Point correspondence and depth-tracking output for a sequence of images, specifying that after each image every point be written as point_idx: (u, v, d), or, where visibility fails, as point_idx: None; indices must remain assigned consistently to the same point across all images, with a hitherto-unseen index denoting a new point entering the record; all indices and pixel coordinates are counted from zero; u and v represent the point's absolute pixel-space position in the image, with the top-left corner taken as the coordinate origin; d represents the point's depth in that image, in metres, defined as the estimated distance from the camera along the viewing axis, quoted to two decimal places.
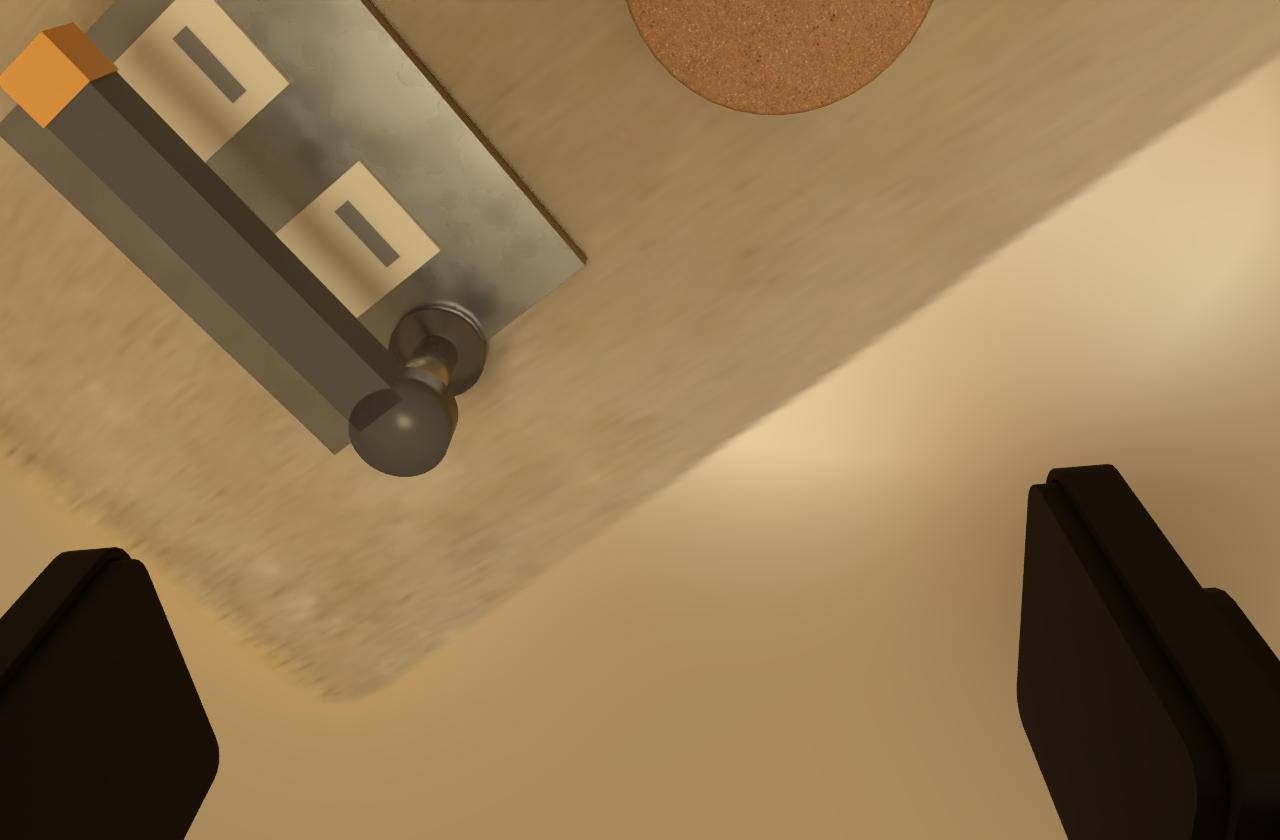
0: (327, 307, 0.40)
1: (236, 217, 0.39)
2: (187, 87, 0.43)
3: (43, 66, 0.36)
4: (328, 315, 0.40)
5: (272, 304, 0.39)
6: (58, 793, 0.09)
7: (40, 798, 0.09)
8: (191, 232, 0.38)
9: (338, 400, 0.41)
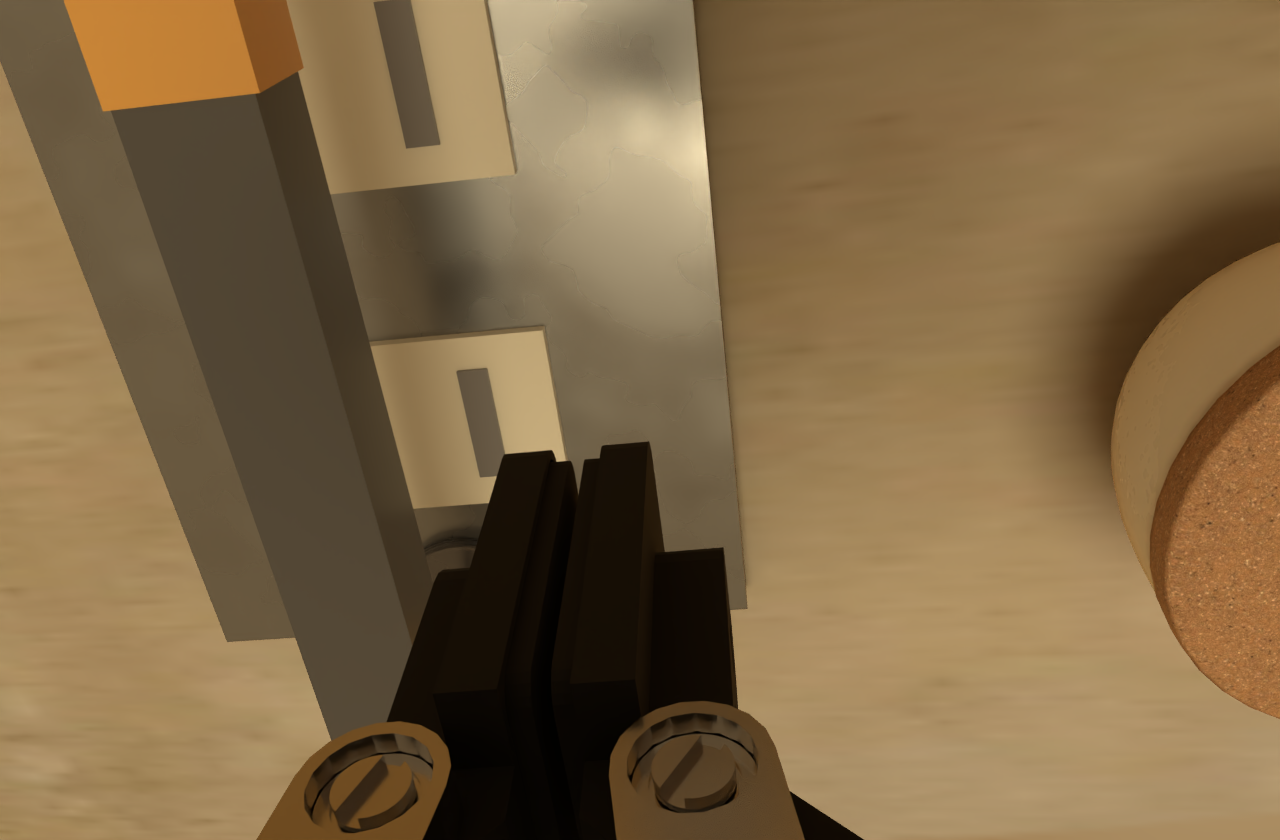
0: (418, 603, 0.22)
1: (364, 420, 0.20)
2: (347, 82, 0.24)
3: (180, 13, 0.16)
4: (416, 624, 0.22)
5: (338, 577, 0.21)
6: None
7: None
8: (274, 415, 0.19)
9: None
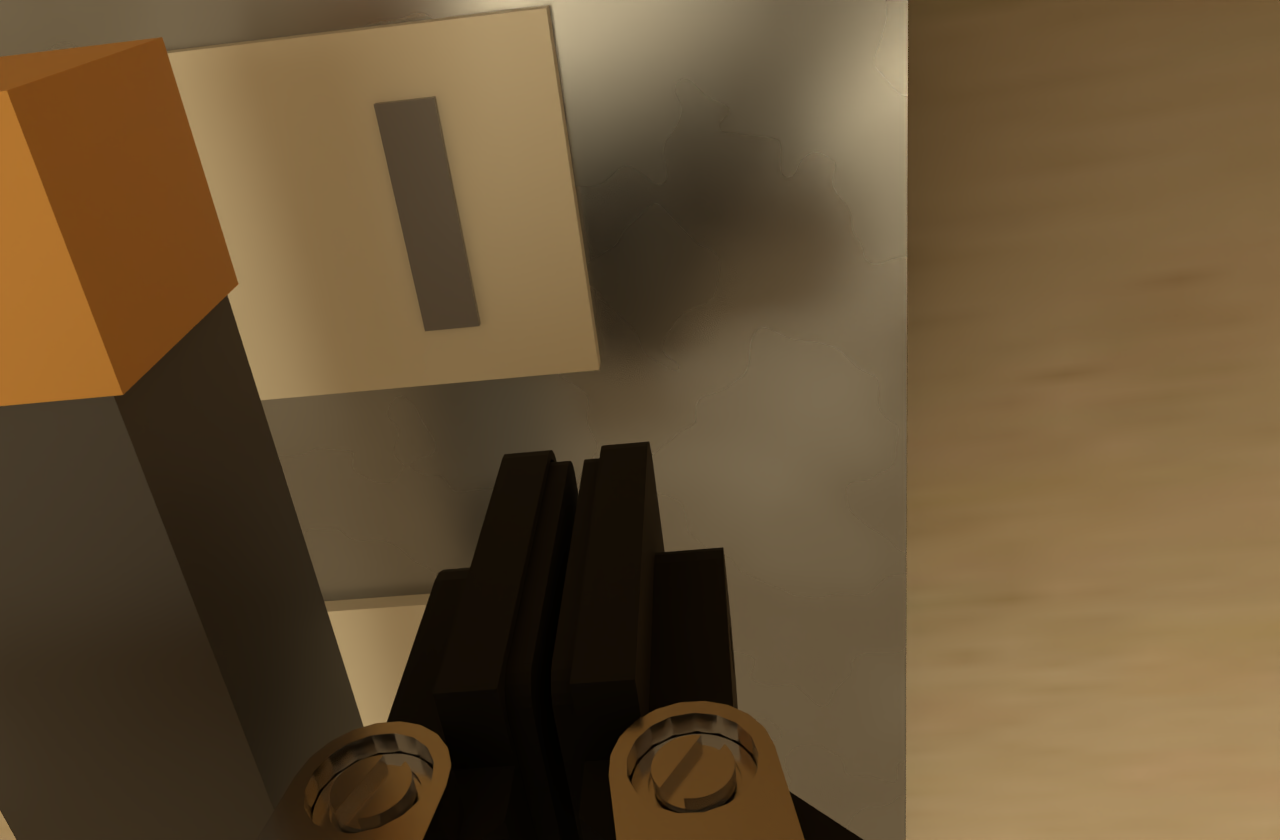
0: None
1: None
2: (329, 229, 0.15)
3: None
4: None
5: None
6: None
7: None
8: None
9: None
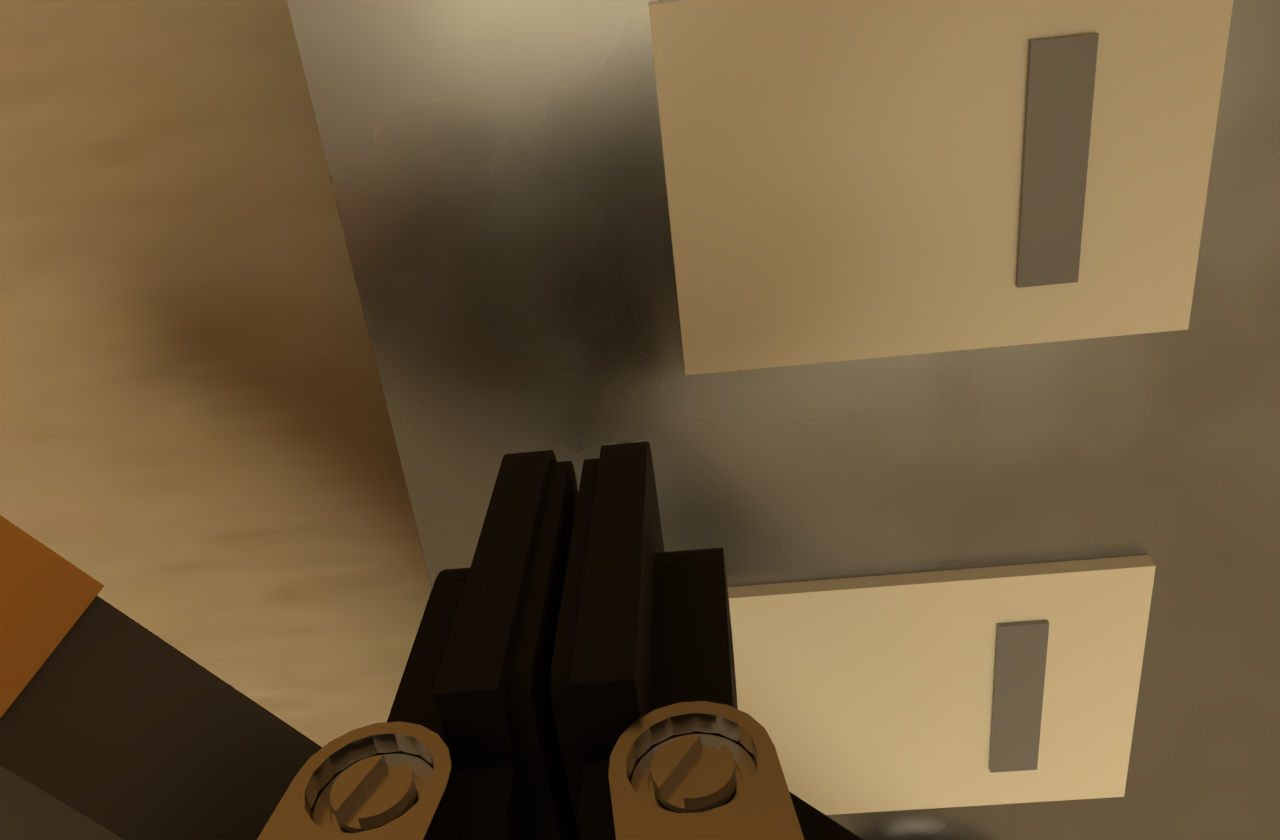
0: None
1: None
2: (940, 178, 0.14)
3: None
4: None
5: None
6: None
7: None
8: None
9: None
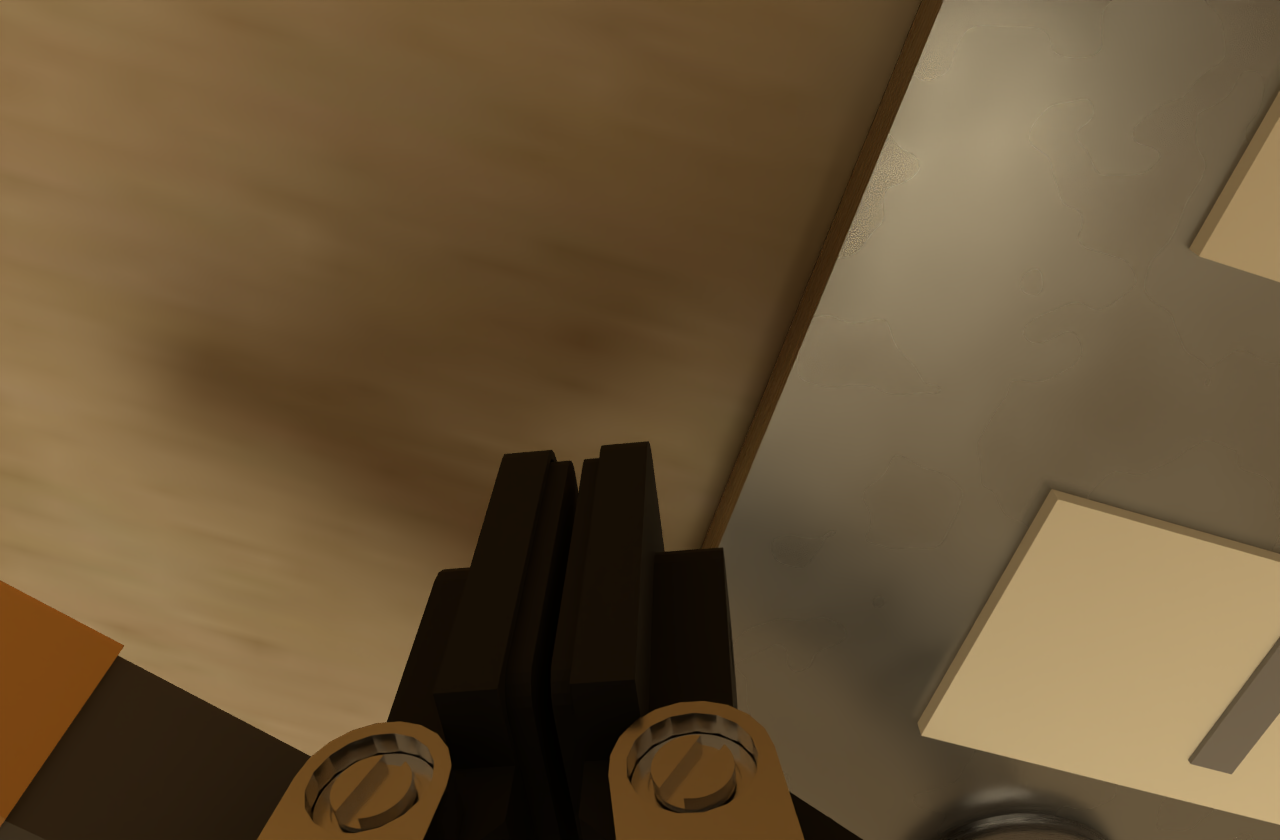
0: None
1: None
2: None
3: None
4: None
5: None
6: None
7: None
8: None
9: None
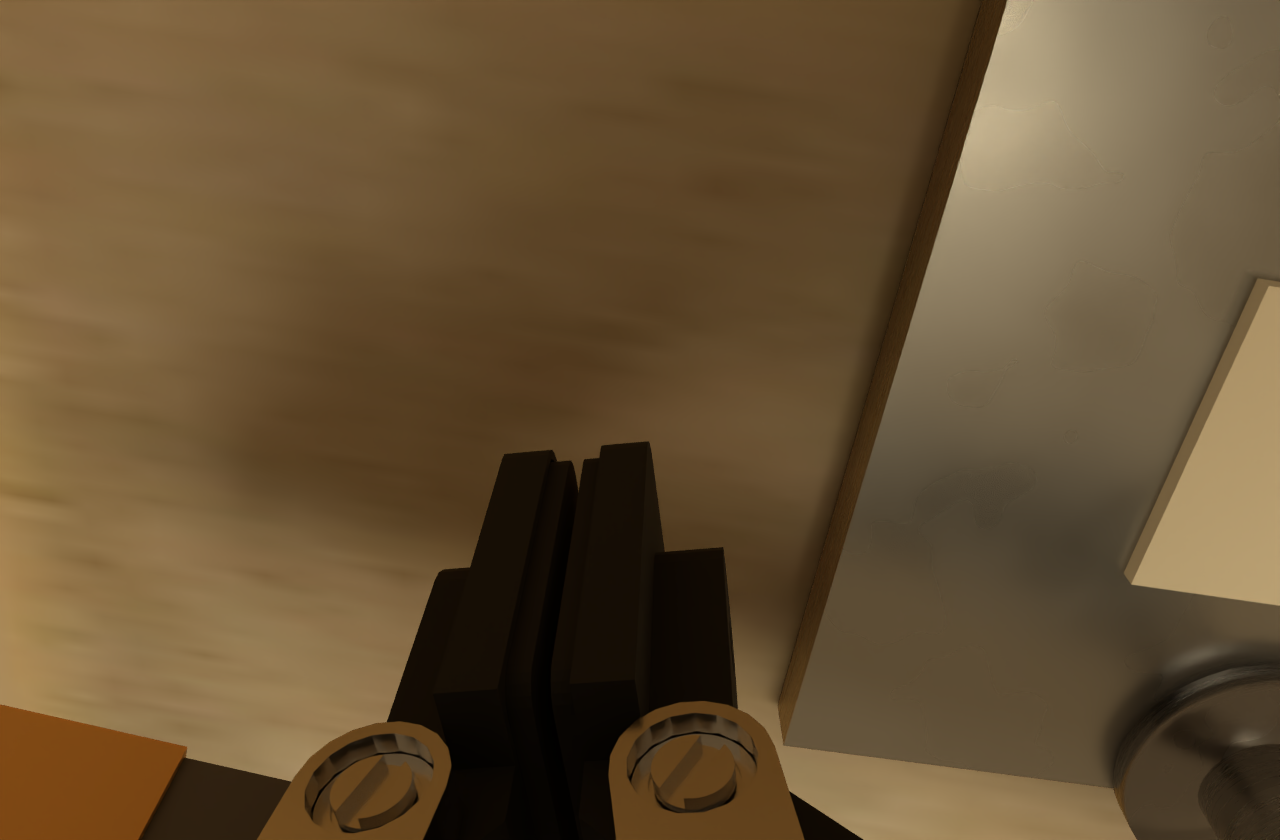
0: None
1: None
2: None
3: None
4: None
5: None
6: None
7: None
8: None
9: None
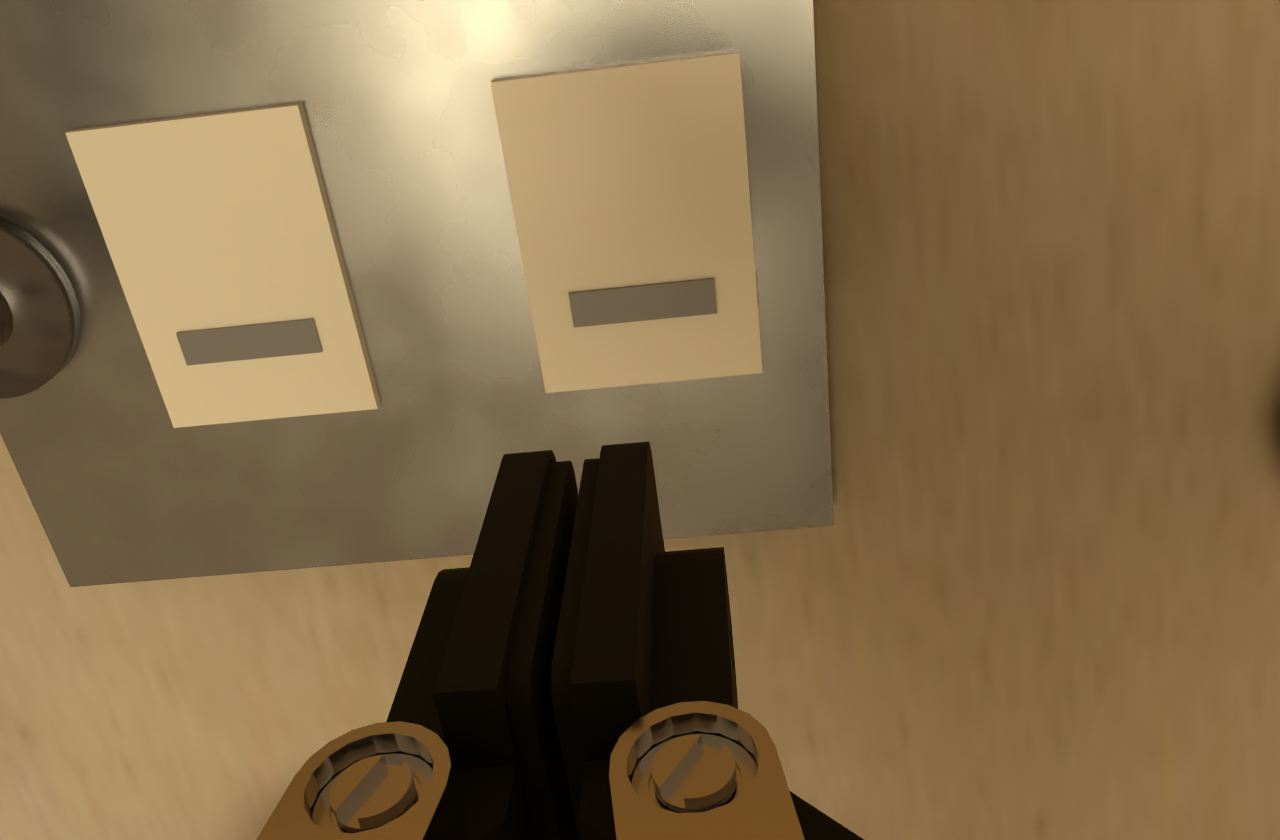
0: None
1: None
2: (634, 239, 0.23)
3: None
4: None
5: None
6: None
7: None
8: None
9: None
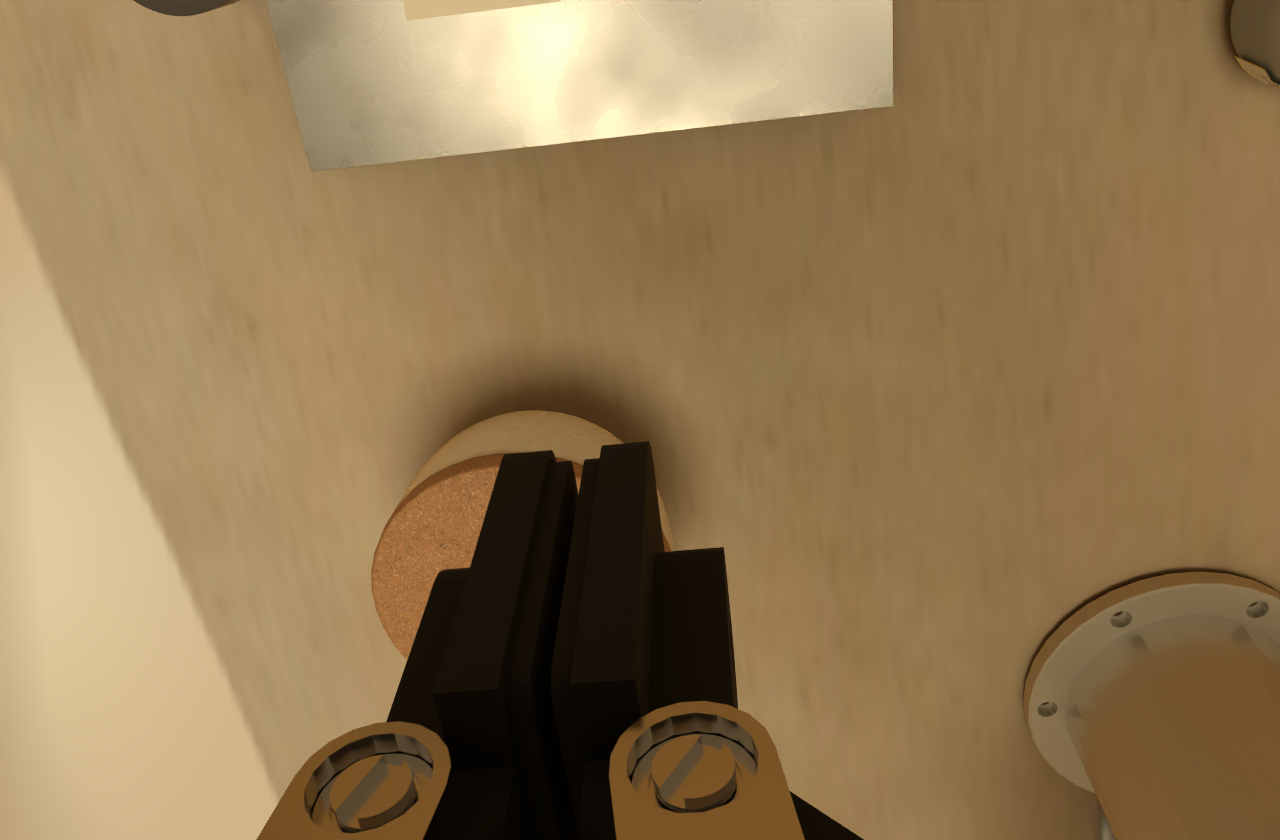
0: None
1: None
2: None
3: None
4: None
5: None
6: None
7: None
8: None
9: None
